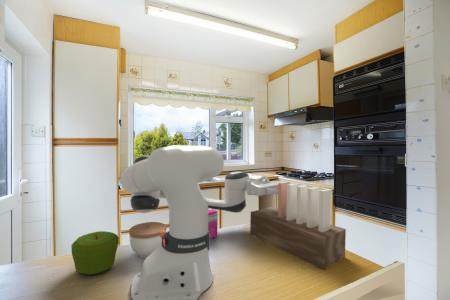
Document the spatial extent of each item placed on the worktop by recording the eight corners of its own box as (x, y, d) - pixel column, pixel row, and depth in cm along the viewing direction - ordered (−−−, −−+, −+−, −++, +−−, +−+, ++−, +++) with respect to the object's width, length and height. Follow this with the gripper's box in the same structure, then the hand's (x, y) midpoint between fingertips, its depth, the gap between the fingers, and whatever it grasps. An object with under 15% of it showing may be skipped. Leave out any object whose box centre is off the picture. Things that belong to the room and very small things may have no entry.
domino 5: (322, 232, 76) (323, 191, 75) (318, 230, 77) (319, 190, 77) (330, 229, 79) (331, 189, 78) (326, 227, 80) (326, 188, 80)
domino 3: (299, 224, 83) (300, 187, 83) (296, 223, 84) (296, 186, 84) (307, 221, 86) (308, 185, 86) (304, 220, 87) (304, 185, 87)
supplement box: (198, 236, 95) (199, 209, 95) (210, 233, 99) (210, 207, 99) (206, 241, 91) (206, 213, 91) (218, 237, 94) (218, 210, 94)
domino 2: (289, 221, 87) (290, 185, 86) (286, 219, 88) (286, 184, 88) (297, 218, 90) (298, 183, 89) (294, 217, 91) (294, 183, 91)
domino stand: (323, 269, 71) (324, 238, 71) (250, 234, 98) (250, 211, 98) (344, 257, 79) (345, 229, 79) (271, 227, 106) (272, 206, 106)
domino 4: (310, 228, 79) (311, 189, 79) (306, 226, 81) (307, 188, 80) (318, 225, 82) (319, 187, 82) (314, 224, 84) (315, 186, 83)
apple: (64, 284, 62) (64, 244, 62) (80, 261, 74) (80, 228, 73) (113, 277, 65) (113, 239, 65) (121, 257, 77) (121, 224, 77)
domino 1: (280, 217, 90) (281, 183, 90) (277, 216, 92) (278, 182, 91) (288, 215, 93) (289, 182, 93) (285, 214, 95) (286, 181, 94)
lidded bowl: (155, 264, 73) (155, 230, 73) (121, 259, 76) (121, 227, 75) (171, 246, 85) (172, 218, 85) (142, 243, 88) (142, 215, 88)
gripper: (275, 189, 109) (300, 194, 98) (244, 195, 97) (268, 202, 86) (276, 176, 109) (300, 180, 98) (244, 180, 97) (268, 186, 86)
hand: (285, 190), depth 92 cm, fingers open, 8 cm apart
